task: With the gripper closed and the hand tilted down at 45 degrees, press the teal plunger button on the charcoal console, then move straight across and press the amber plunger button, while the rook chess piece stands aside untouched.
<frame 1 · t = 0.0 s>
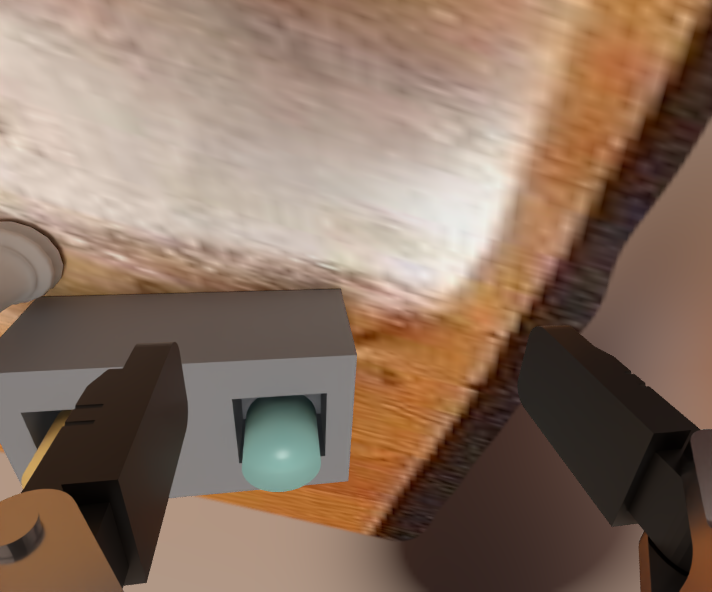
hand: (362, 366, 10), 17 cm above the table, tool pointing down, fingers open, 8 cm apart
teal button: (281, 439, 24), point 8 cm above the table, slide at 0.0 cm
console: (206, 356, 30), on the table
amber button: (83, 455, 23), point 8 cm above the table, slide at 0.0 cm
rook chess piece: (23, 254, 25), on the table
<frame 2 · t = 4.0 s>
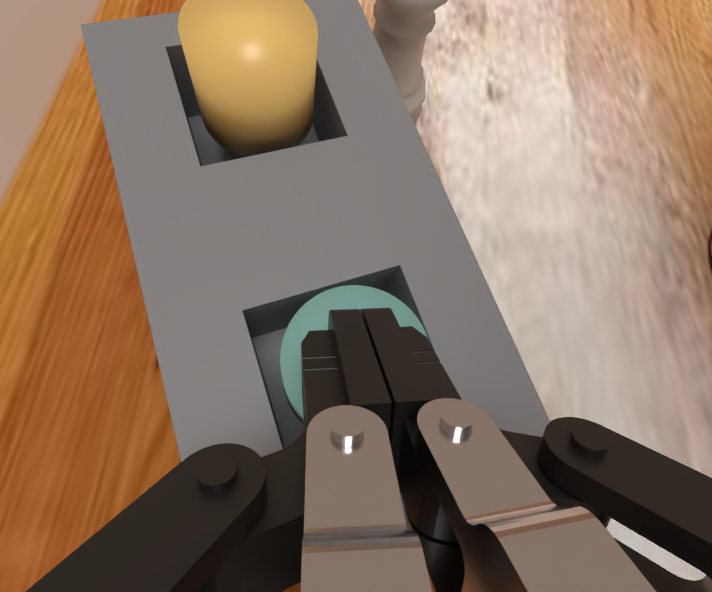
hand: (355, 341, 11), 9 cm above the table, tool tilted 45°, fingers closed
teal button: (349, 368, 13), point 6 cm above the table, slide at 1.3 cm, touching gripper
console: (297, 288, 21), on the table
amber button: (254, 73, 15), point 8 cm above the table, slide at 0.0 cm
rook chess piece: (380, 107, 25), on the table
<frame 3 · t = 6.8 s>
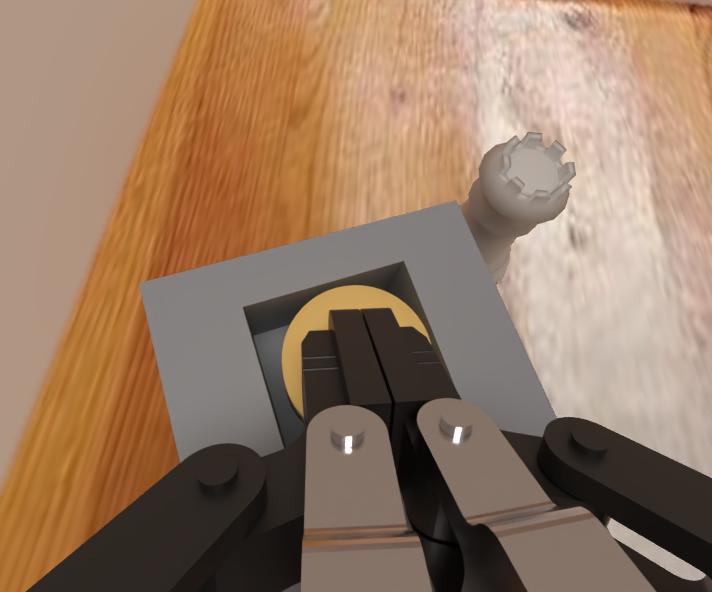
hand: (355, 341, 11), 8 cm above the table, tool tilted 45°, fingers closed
console: (373, 511, 18), on the table
amber button: (351, 368, 13), point 6 cm above the table, slide at 1.6 cm, touching gripper
rook chess piece: (452, 262, 22), on the table
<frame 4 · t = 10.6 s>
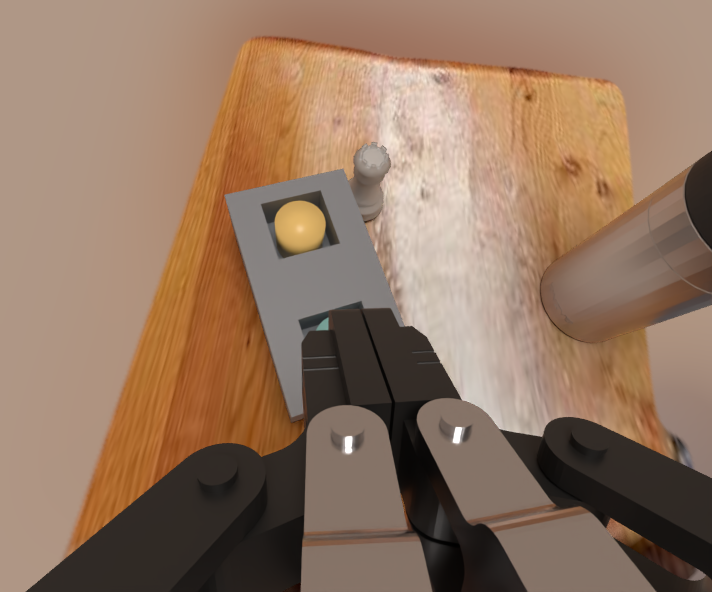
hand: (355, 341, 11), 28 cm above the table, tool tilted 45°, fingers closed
teal button: (338, 345, 34), point 5 cm above the table, slide at 2.4 cm
console: (315, 307, 40), on the table
amber button: (299, 232, 37), point 5 cm above the table, slide at 2.4 cm
rook chess piece: (359, 205, 45), on the table
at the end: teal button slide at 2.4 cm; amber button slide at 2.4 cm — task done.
